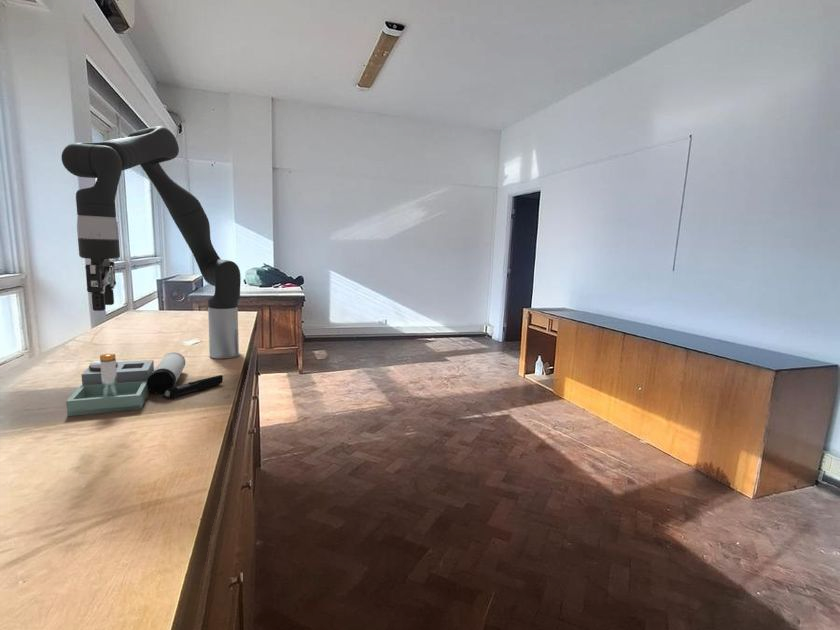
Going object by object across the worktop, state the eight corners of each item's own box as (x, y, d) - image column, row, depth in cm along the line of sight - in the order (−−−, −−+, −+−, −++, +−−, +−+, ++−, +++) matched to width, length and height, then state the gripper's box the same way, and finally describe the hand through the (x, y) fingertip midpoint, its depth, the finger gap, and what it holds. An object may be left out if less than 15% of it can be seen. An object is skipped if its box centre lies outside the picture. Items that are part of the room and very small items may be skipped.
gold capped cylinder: (119, 397, 106) (116, 353, 104) (116, 401, 103) (113, 356, 102) (104, 398, 105) (101, 354, 103) (101, 402, 102) (98, 357, 100)
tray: (148, 393, 112) (147, 380, 111) (140, 409, 102) (140, 395, 102) (82, 398, 106) (81, 385, 106) (67, 416, 96) (66, 401, 96)
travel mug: (190, 356, 130) (179, 376, 112) (179, 375, 130) (166, 399, 112) (169, 347, 128) (154, 367, 110) (158, 367, 128) (141, 389, 109)
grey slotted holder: (154, 380, 122) (153, 355, 121) (148, 392, 113) (147, 365, 112) (94, 384, 116) (92, 358, 115) (83, 397, 107) (80, 369, 106)
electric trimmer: (226, 386, 121) (225, 375, 121) (169, 401, 108) (169, 389, 108) (218, 383, 123) (218, 373, 123) (161, 397, 110) (161, 385, 110)
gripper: (111, 238, 93) (116, 312, 95) (124, 237, 105) (129, 302, 108) (67, 236, 90) (74, 313, 92) (87, 235, 102) (92, 303, 105)
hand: (104, 307), depth 100 cm, fingers open, 8 cm apart
